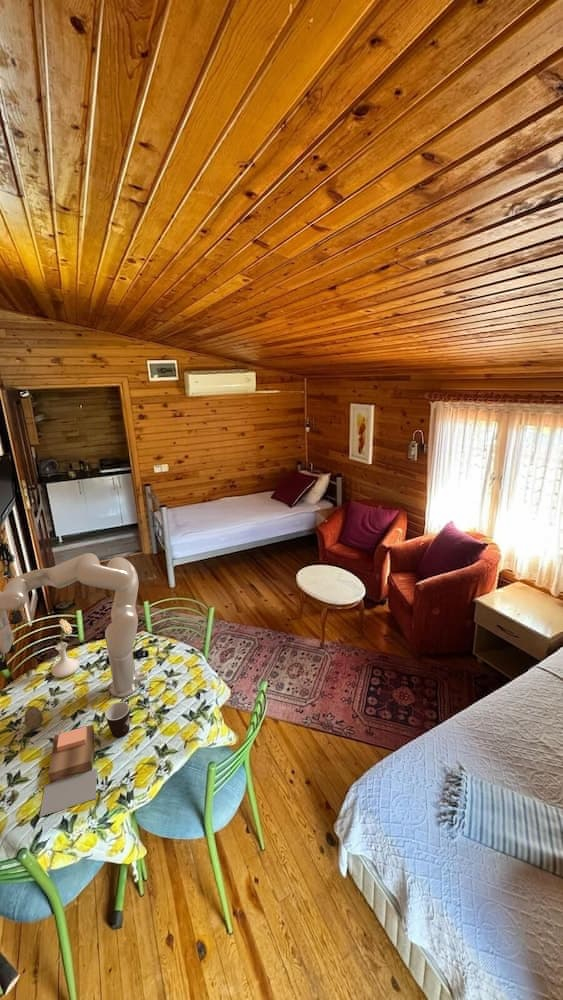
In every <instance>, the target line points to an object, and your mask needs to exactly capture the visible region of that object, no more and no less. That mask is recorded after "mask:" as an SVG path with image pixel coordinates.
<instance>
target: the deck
mask: <svg viewBox="0 0 563 1000" xmlns="http://www.w3.org/2000/svg"><path fill="white" fill-rule="evenodd" d="M86 728H87V737H86V744H83V745H80V746H76V747H73V748H69V749H66V750H62V751H59V752H58V750H57V744H58V738H59V734H60V733H59V734H55V735H54V737H53V744H52V748H51V749H52V750H51V755H50V761H49V768H48V771H47V773H48V774H47V775H48V779H49V784H50V783H53V782H56V781H59V780H62V779H65V778H69V777H72V776H75V775H78V774H81V773H85V772H88V771H91V770H94V769H93V766H94V752H95V750H94V749H95V733H96V731H95V726H94V724H91V725H87V726H86Z"/></svg>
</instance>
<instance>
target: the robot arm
mask: <svg viewBox="0 0 563 1000" xmlns="http://www.w3.org/2000/svg"><path fill="white" fill-rule="evenodd" d="M78 581H79V582H80V583H81V584H84V585H85V586H91V587H94V588H98V589H99V588H101V589H106V590H110V591H114V593H115V595H114V599H113V603H112V607H111V611H110V617H111V622H110V623H109V624H108V625H107V626H106V629H105V632H104V638H105V643H106V650H107V656H108V661H109V668H110V673H111V679H112V680H111V681H112V683H110V685H109V692H110V695H112V696H114V697H116V698H123V697H128V696H131V695H132V694H134V693H135V692H136V691H137V690H139V688H140V687H141V682H143V681H148V675H147V674H146V675H145V672H141V673H137V670H136V666H135V661H134V650H133V648H134V643H135V640H136V636H137V631H138V627H139V618H138V613H137V609H136V604H137V598H138V591H139V584H140V583H139V576H138V572H137V569H136V568H135V566H134V565H133V564H132V562H130V561H129V560H128V559H126V558H125V557H120V556H116V557H113V558H111V559H110V560H109V561H108V562H107V565H106V566H105V565H101V563H100V559H99V558H98V557H97V555H96V554H95V553H90V552H86V553H83V554H81V555H78V556H75V557H74V558H71V559H69V560H66V561H64V562H61V563H59V564H57V565H54V566H52V567H47V568H39V569H33V570H30V571H28V572H25V573H22V574H21V575H18V576H16V577H14V578H12V579H11V580H9V581H8V582H7V583H6V585H5V587H4V589H3V591H1V590H0V656H1V657H0V672H2V671H6V670H8V669H9V666H8V662H7V659H6V658H5V655H10V654H13V653H15V647H14V641H15V640H14V639H15V638H14V637H15V636H14V634H13V630H12V628H11V624H10V621H9V616H8V612H7V611H14V610H15V611H16V610H19V609H21V608H23V607H24V606H25V604H26V603H27V598H28V594H29V592H31V591H34V590H35V589H38V588H41V587H46V586H51V587H54V588H56V589H63V588H64V587H65V588H66V587H67V586H69V585H71V584H73V583H75V582H78Z"/></svg>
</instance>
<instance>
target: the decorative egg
mask: <svg viewBox="0 0 563 1000" xmlns="http://www.w3.org/2000/svg"><path fill="white" fill-rule="evenodd" d="M43 721H44V716H43V713H42V711H41V710H40V709H39V708H38V707H37V706H35V705H31V706H29V707H27V709H26V711H25V714H24V725H25V727H26V728H27V729H28V730H30V731H35V730H38V729H39V728H40V727H41V725H42V724H43Z"/></svg>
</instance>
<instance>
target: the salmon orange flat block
mask: <svg viewBox="0 0 563 1000" xmlns="http://www.w3.org/2000/svg"><path fill="white" fill-rule="evenodd" d="M86 737H87V728H86V726H83V727H79V728H76V729H71V730H68V731H64V732H61V733H59V738H58V744H57V750H58V752H59V751H62V750H66V749H69V748H73V747H76V746H80V745H83V744H86Z"/></svg>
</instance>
